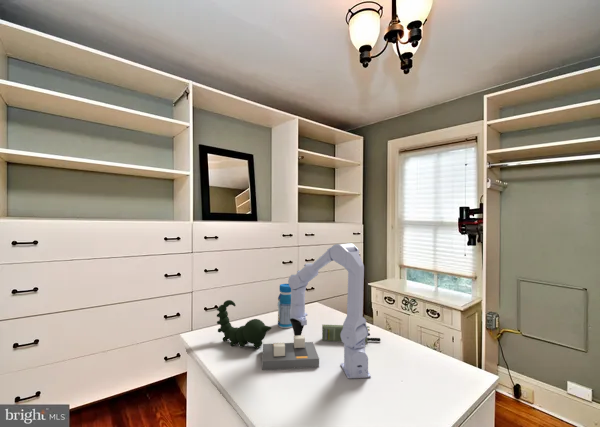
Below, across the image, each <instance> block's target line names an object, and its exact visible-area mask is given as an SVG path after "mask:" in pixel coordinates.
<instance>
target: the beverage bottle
mask: <svg viewBox="0 0 600 427" xmlns="http://www.w3.org/2000/svg"><path fill="white" fill-rule="evenodd" d="M279 292H280V293H279V295H278V298H277V300H278V302H277V326H278V327H279V328H281V329H290V328H291V329H292V328H293V327H292V324H291V321H290V319H292V318H291V317H290V309H291V288H290V286H289V284H288V283H282V284H279Z"/></svg>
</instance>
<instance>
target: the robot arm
mask: <svg viewBox="0 0 600 427" xmlns="http://www.w3.org/2000/svg"><path fill="white" fill-rule="evenodd" d="M333 261H334V262H335V263H337V264H338V265H340V266H342V267H343V268H344V269H345V270H346V271H347V298H346V299H347V301H346V302H347V303H346V306H347V307H346V317H345V319H344V321H343V322H342V323H343V324H342V325H343V329H342V331H341V334H340V336H341V340H342V341H341V343H342V344H343V347H344V348H343V362H341V363H340V366H341V368H342V370H343V372H344V374H345V375H346V378H347V379H359V378H360V379H362V378H363V379H364V378H371V377H372V375H371V374H370V372H369V358H368V355H367V352H366V343H365V338H366V337H367V338H368V337H369V336H368V333H369V331H368V329H369V328H367V326H368V325H367V319H366V318H365V317H364V316H363V314H364V313H363V310H364V287H365V286H364V279H365V265H364V263H363V260H362V258H361V255H360V249H359V248H358V247H357V246H356V245H355V244H354V243H351V242H347V243H336V244H333V245H332V246H331V247H329V248H328V249H327V250H326V251H325V252H324V253H323V254H322V255H321V256H319V257H318V258H317V259H316V260H315V261H314V262H313V263H312V262H310V263H309V262H307V263H305V264H304V265H303V266H304V267H302V268H301V269H300V270H297V271H296V274H291V275H290V276H289V278H288V279H287V280H288V281H287V282H288V283H287V284H289V286H290V288H291V309H290V317H291V318H292V319H290V321H291V324H292V327H291V328H292V329H293V331H292V332H293V334H294V335H293V337H294V336H297V335H302V334H303V329H304V326H307V324H308V322H307V320H308V319H307V318H306V317H307V316H308V313H307V312H306V290H307V286H308V284H309V282H310V281H312V280H313V279H314V278H316V277H317V276H318V275H319V271H320V270H321V269H323V267H325V266H327V265H328V264H330V263H331V262H333Z"/></svg>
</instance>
